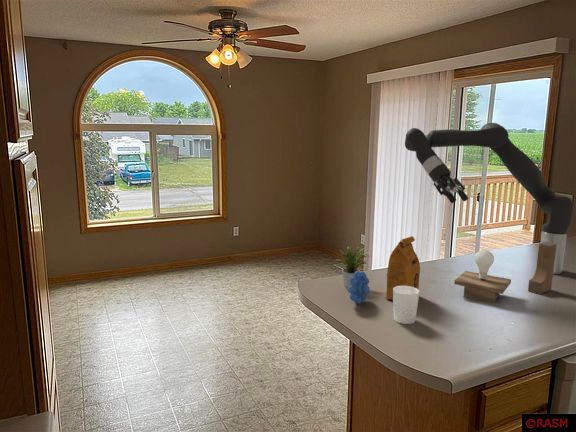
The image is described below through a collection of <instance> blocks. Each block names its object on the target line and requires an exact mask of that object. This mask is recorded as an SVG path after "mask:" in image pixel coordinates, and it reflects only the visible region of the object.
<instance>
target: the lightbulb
mask: <svg viewBox="0 0 576 432" xmlns="http://www.w3.org/2000/svg"><path fill="white" fill-rule="evenodd" d="M474 261H475V264H476V266H477V269H478V273H479V278H480V279H481V280H485V279H487V275H488V272H489V269H490V268H491V267H492V265H493V264H494V262H495V256H494V254H493V252H491V251H489V250H487V249H481V250H479V251H477V253H476V254H475V256H474Z"/></svg>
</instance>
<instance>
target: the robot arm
mask: <svg viewBox="0 0 576 432" xmlns="http://www.w3.org/2000/svg"><path fill="white" fill-rule="evenodd" d="M404 140H405V141H404V147H405V148H406V150H408V151H411V152H414V153H415V157H416V159H417V161H418V162H419V163H420V165H421V166H422V168H423V169H424V171H425V172H426V174H427V175H428V176H429V178H430V179H431V181H432V182H433V183H432V184H433V186H434V188H435V189H436V190H437V192H438V193H439V195H441V196H444V197H446V198H447V200H448V201H449V202H450V203H451V204H454V203H455V202H456V201H457V198H456V197H455V195H454V194H453V193H456V194H457V195H458V196H459V198H460V199H461V200H462V201H463V202H467V200H469V197H468V195H467V194H466V193H465V191H464V190H466V187H465V186H464V185H463V184H462V182H461V181H460V180H459V179H458V177H455V178H452V177H451V176H452V175H451V174H452V171H451V170H450V169H449V168H448V166H447V165H446V164H445V162H444V161H443V159H441V158H440V157H439V156H438V154H437V153H436V151H434V149H433V148H444V147H445V148H446V147H467V146H468V147H483V148H488V149H490V150H492V151H493V153H495V154H496V155H497V156H498V158H499V159H500V161H501V163H503V165H504V166H505V168H506V169H507V170H508V171H509V173H510V174H511V176H512V177H514V179H515V180H516V181H517V182H518V183H520V185H521V186H522V187H523V188H524V189H525V190H526V191H527V192H528V194H530V195H531V197H532V198H533V200H534V201H535V202H536V204H537V205H538V207H540V208H539V209H541V210H542V212H543V213H544V214H546V215H548V216H549V220H548V222H547V223H543V224H542V225H541V226H542V227H541V235H540V243H543V242H548V243H553V244H556V245H557V246H556V254H555V262H554V270H553V275H554V274H557V275H558V274H562V273H563V266H564V260H565V259H564V258H565V251H566V246H567V245H566V243H567V236H568V235H567V234H568V230H569V229H570V227H571V223H572V218H573V213H574V203H573V200H572V199H571V198H570V197H569V196H566V195H561V194H557V193H556V192H554V191H553V190H552V189H550V187H548V185H547V184H546V183H545V181H544V177H543V174H542V171H541V169H540V168H539V166H538V165H537V163H535V162H534V160H532V158H531V157H529V156H528V155H527V154H526V153H525V152H524V151H522V150H521V149H520V148H519V147H517V146H516V145H515V144H514V143H513V142H512V141H511V139H510V138H509V131H508V130H507V129H506V128H505V127H504V126H503V125H501V124H499V123H497V122H488V123H485V124H484V125H482V127H481V128H480V129H479V130H463V129H462V130H461V129H435V130H430V131H429V132H428V134H425V133H424V131H422V130H421V129H419V128H417V127H413V128H410V129H409V130H407V131H406V134H405V139H404ZM451 191H452V192H453V193H452V192H451Z"/></svg>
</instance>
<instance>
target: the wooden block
mask: <svg viewBox="0 0 576 432" xmlns="http://www.w3.org/2000/svg"><path fill="white" fill-rule="evenodd" d="M556 246H557V245H556V244H553V243H548V242H543V243H541V242H540V243H539V244H538V252H537V257H536V259H537V260H536V265H535V266H536V267H535V268H536V269H535V273H534V274H533V277H532V278H530V279H529V280H528V287H527V291H528V292H529V293H534V294H537V295H541V294H544V293H546V292H548V291H549V292H550V291H551V290H552V286H553V285H552V284H553V278H554V274H553V270H554V262H555V254H556Z"/></svg>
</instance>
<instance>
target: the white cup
mask: <svg viewBox="0 0 576 432" xmlns="http://www.w3.org/2000/svg"><path fill="white" fill-rule="evenodd" d="M419 297H420V289H419V290H418V289H417V288H414V287H411V286H396V287H394V288H393V300H392V311H393V318H392V319H393V320H394V321H395V322H396V323H399V324H403V325H411V324H415V322H416V321H417V312H418V306H419V299H420V298H419Z"/></svg>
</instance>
